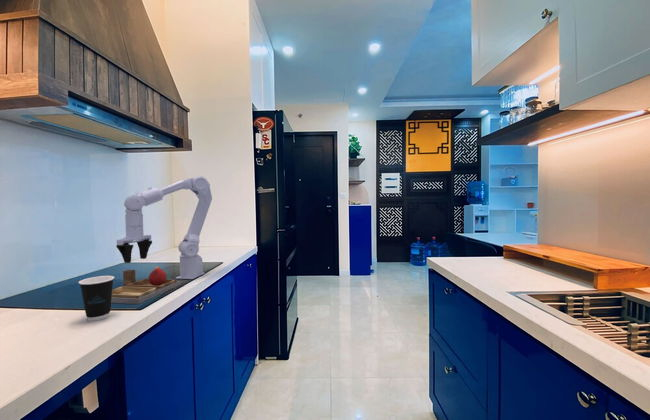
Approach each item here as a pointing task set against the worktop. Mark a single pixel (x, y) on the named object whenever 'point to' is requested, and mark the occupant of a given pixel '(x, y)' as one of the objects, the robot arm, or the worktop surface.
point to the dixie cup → (97, 296)
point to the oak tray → (132, 292)
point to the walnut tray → (141, 281)
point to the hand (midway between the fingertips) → (135, 260)
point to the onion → (157, 277)
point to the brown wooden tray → (146, 297)
